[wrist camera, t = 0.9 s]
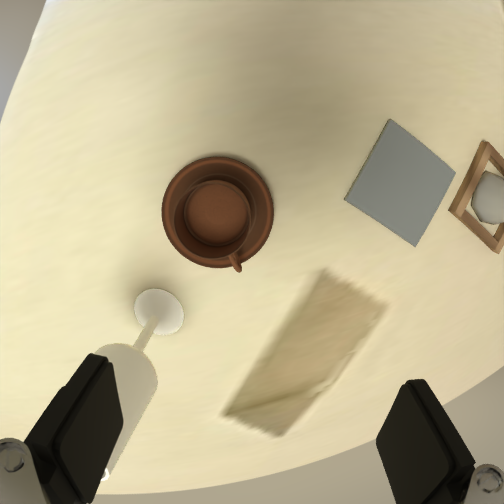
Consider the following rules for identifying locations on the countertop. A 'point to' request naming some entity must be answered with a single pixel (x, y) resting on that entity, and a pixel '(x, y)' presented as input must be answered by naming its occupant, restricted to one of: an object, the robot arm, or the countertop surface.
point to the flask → (489, 199)
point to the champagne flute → (139, 362)
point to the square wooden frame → (466, 191)
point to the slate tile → (401, 183)
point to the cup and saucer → (217, 212)
